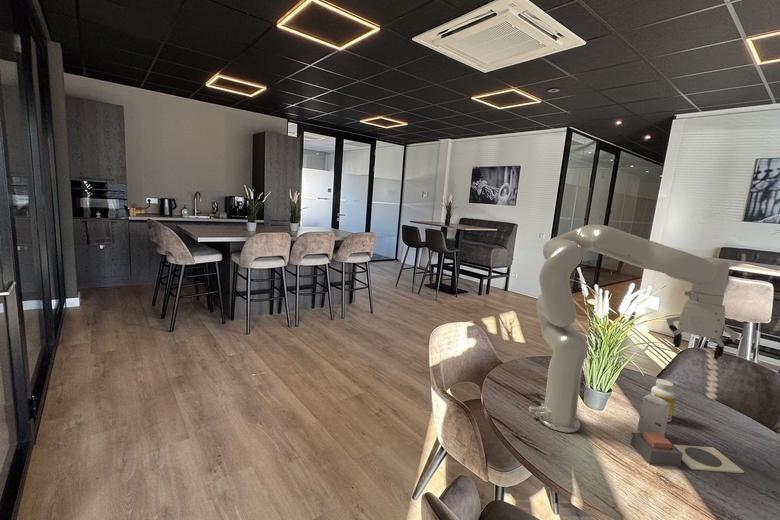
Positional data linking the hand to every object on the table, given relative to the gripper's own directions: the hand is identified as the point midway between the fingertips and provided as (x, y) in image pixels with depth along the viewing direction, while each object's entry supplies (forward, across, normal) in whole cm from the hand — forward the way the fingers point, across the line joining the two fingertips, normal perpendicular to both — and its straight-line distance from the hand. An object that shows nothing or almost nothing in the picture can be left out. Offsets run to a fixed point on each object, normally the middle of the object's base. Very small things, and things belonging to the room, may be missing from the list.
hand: (696, 352), depth 111 cm
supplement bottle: (+28, -7, +4) cm, 29 cm away
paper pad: (+27, +8, -10) cm, 30 cm away
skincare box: (+28, -5, -10) cm, 30 cm away
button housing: (+27, -1, -21) cm, 34 cm away
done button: (+25, -1, -21) cm, 32 cm away
